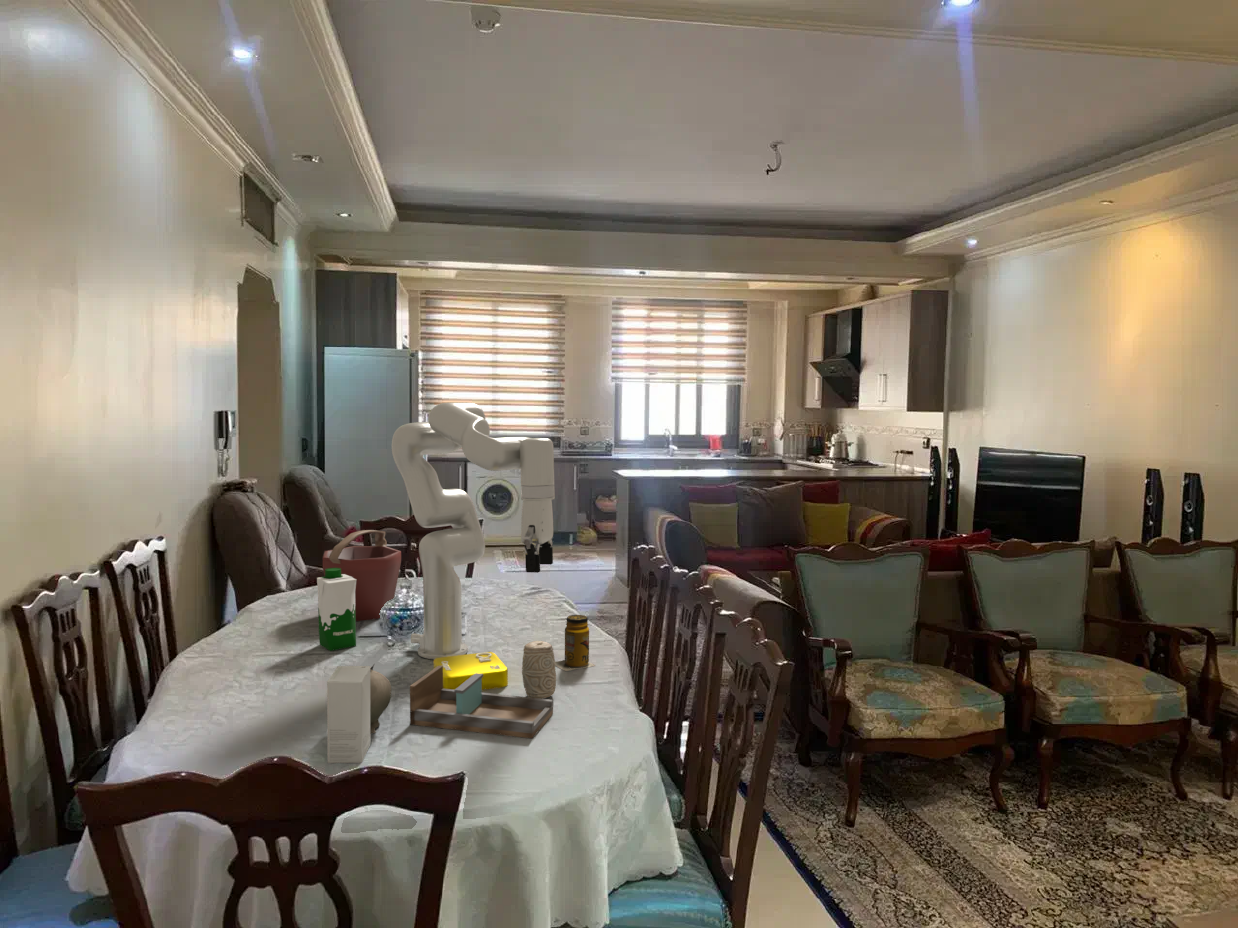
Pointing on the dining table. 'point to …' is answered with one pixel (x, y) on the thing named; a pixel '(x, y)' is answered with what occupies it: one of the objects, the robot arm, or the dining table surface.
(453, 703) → the pusher lane
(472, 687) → the pusher plate
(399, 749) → the dining table surface
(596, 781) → the dining table surface
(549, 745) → the dining table surface
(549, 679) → the carving
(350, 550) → the bucket
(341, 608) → the milk carton
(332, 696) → the skincare box
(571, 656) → the condiment
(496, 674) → the yellow rounded box
